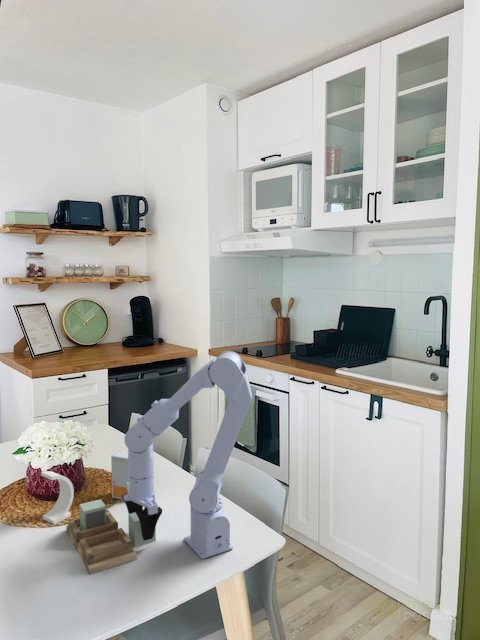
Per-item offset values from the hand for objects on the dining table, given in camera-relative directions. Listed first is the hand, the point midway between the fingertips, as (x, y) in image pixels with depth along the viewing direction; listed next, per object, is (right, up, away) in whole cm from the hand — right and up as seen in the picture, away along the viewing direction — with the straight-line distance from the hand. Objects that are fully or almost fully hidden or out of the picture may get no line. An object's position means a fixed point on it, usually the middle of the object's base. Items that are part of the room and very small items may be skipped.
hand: (141, 531), depth 118 cm
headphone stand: (-23, -1, +11) cm, 25 cm away
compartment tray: (-9, -2, -2) cm, 10 cm away
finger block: (0, -2, 0) cm, 2 cm away
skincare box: (-9, 0, +22) cm, 23 cm away
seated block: (-12, -1, +2) cm, 12 cm away
